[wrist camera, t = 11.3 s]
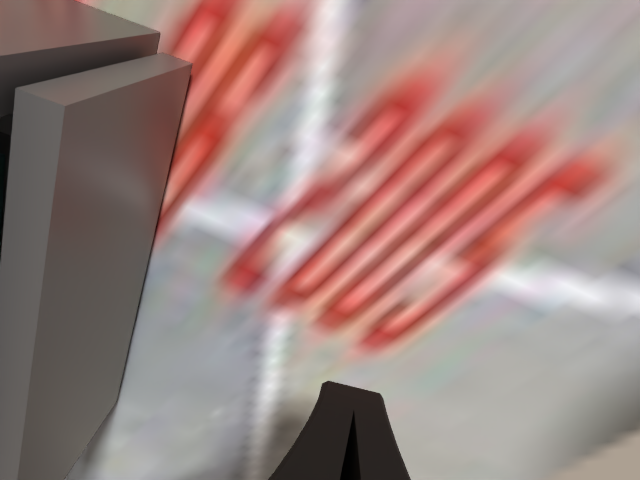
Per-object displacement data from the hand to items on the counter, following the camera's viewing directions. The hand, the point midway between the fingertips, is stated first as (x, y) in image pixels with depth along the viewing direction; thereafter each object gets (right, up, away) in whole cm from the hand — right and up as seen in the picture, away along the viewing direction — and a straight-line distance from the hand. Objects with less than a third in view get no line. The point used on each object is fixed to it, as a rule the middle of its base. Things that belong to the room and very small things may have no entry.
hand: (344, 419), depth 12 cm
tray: (-10, +5, +4) cm, 12 cm away
